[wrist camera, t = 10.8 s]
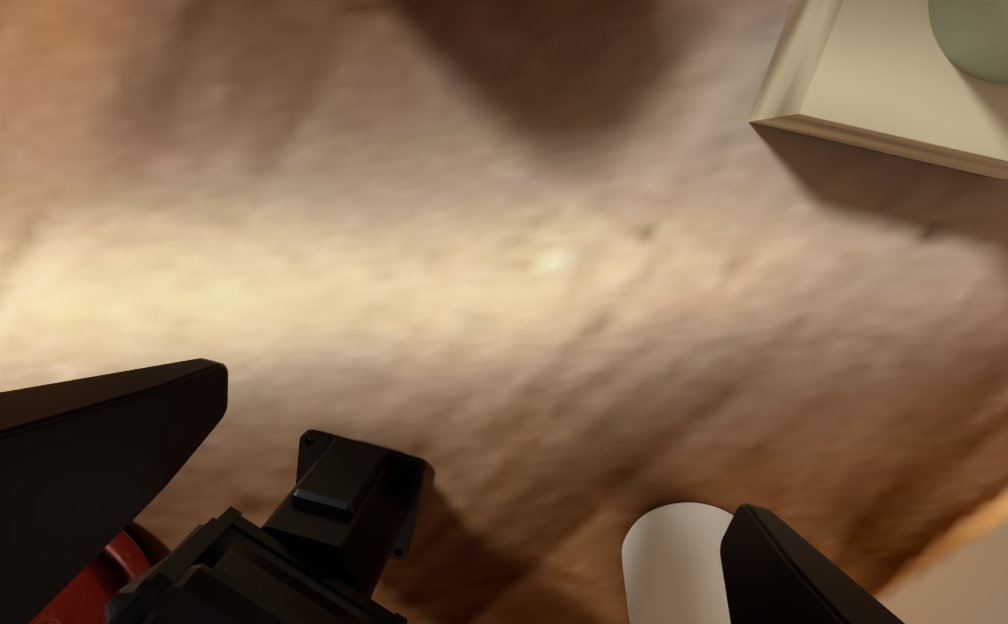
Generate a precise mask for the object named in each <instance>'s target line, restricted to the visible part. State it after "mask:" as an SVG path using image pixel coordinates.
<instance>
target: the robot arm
mask: <svg viewBox="0 0 1008 624" xmlns="http://www.w3.org/2000/svg"><path fill="white" fill-rule="evenodd" d="M227 403H228V370H227V367H226V366H225V365H224V364H223V363H219V362H215V361H212V360H208V359H204V358H199V359H193V360H187V361H181V362H175V363H169V364H164V365H158V366H152V367H146V368H140V369H134V370H129V371H123V372H117V373H111V374H105V375H100V376H94V377H88V378H82V379H76V380H70V381H65V382H59V383H53V384H47V385H41V386H35V387H30V388H24V389H18V390H12V391H6V392H0V624H29V623H30V622H31V621H32V620H33V619H34V618H35V617H36V616H37V615H38V614H39V613H40V612H41V611H42V610H43V609H44V608H45V607H46V606H47V605H48V604H49V603H50V602H51V601H52V600H53V599H54V598H55V597H56V596H57V595H58V594H59V593H60V592H61V591H62V590H63V589H64V588H65V587H66V586H67V585H68V584H69V583H70V582H71V581H72V580H73V579H74V578H75V577H76V576H77V575H78V574H79V573H80V572H81V571H82V570H83V569H84V568H85V567H86V566H87V565H88V564H89V563H90V562H91V561H92V560H93V559H94V558H95V557H96V556H97V555H98V554H99V553H100V552H101V551H102V550H103V549H104V548H105V547H106V546H107V545H108V544H109V543H110V542H111V541H112V540H113V539H114V538H115V537H116V536H117V535H118V534H119V533H120V532H121V531H122V530H123V529H124V528H125V527H126V526H127V525H128V524H129V523H130V522H131V521H132V520H133V519H134V518H135V517H136V516H137V515H138V514H139V513H140V512H141V511H142V510H143V509H144V508H145V507H146V506H147V505H148V504H149V503H150V502H151V501H152V500H153V499H154V498H155V497H156V496H157V495H158V494H159V493H160V492H161V491H162V489H163V488H164V487H165V486H166V485H167V484H168V483H169V482H170V480H171V479H172V478H173V477H174V476H175V475H176V473H177V472H178V471H179V470H180V469H181V467H182V466H183V465H184V464H185V463H186V461H187V460H188V459H189V458H190V456H191V455H192V454H193V453H194V452H195V450H196V449H197V448H198V447H199V446H200V444H201V443H202V442H203V441H204V440H205V438H206V437H207V436H208V435H209V434H210V432H211V431H212V430H213V429H214V428H215V426H216V425H217V424H218V423H219V422H220V420H221V419H222V418H223V416H224V414H225V412H226V409H227ZM309 438H310V439H312V440H313V441H314V442H312V441H310V440H309ZM412 467H415V468H417V469H418V470H414V469H412ZM424 471H425V464H424V462H423V461H422V460H421V459H418V458H415V457H412V456H408V455H404V454H401V453H397V452H393V451H390V450H386V449H382V448H379V447H375V446H371V445H368V444H364V443H360V442H357V441H353V440H349V439H346V438H342V437H338V436H335V435H331V434H327V433H324V432H320V431H316V430H307V431H306V432H305V433H304V434H303V435H302V436H301V438H300V443H299V455H298V467H297V479H296V486H295V487H294V488H293V489H292V491H291V492H290V493H289V494H288V495H287V497H286V498H285V499H284V500H283V502H282V503H281V504H280V505H279V506H278V508H277V509H276V510H275V511H274V513H273V514H272V515H271V516H270V517H269V519H268V520H267V521H266V522H265V524H264V525H263V526H262V527H261V528H259V527H258V526H256V525H255V524H253V523H252V522H250V521H249V520H247V519H245V518H244V517H242V516H241V515H242V513H241V512H239V511H238V510H236V509H235V508H233V507H232V506H231V507H230V508H228V509H227V510H226V511H225V512H224V513H223V514H222V515H221V516H220V517H219V518H217V519H215V518H212V519H211V520H210V521H209V522H208V523H206V524H205V525H198V526H197V527H196V528H195V529H194V530H193V531H192V532H191V533H190V534H189V535H188V536H187V537H186V538H185V539H184V540H183V541H182V542H181V543H180V544H179V545H178V546H177V547H176V548H175V549H174V550H173V551H172V552H171V553H170V554H169V555H168V556H166V557H165V558H164V559H163V560H161V561H160V562H159V563H157V564H156V565H154V566H153V567H151V568H150V569H149V570H147V571H146V572H144V573H143V574H141V575H140V576H139V577H137V578H136V579H134V580H133V581H131V582H130V583H128V584H127V585H126V586H124V587H123V588H121V589H120V590H119V591H118V592H117V593H116V594H115V595H114V596H113V597H112V598H111V599H110V601H109V602H108V603H107V604H106V606H105V610H104V624H407V619H406V618H404V617H403V616H401V615H400V614H398V613H395V614H393V613H392V612H390V611H389V610H387V609H386V608H384V607H383V606H381V605H379V604H378V603H376V602H375V601H373V600H372V599H371V596H372V594H373V592H374V590H375V587H376V585H377V583H378V581H379V578H380V576H381V574H382V572H383V569H384V567H385V565H386V562H387V560H388V558H389V557H390V558H394V559H398V560H401V559H404V558H405V557H406V556H407V553H408V551H409V547H410V542H411V537H412V532H413V527H414V522H415V517H416V512H417V507H418V502H419V497H420V492H421V487H422V482H423V476H424ZM398 549H400V550H398ZM720 558H721V564H722V571H723V577H724V584H725V590H726V597H727V603H728V609H729V616H730V622H731V624H905V623H903V622H902V621H901V620H900V619H899V618H897V617H896V616H895V615H894V614H893V613H892V612H890V611H889V610H888V609H887V608H886V607H884V606H883V605H882V604H881V603H880V602H879V601H877V600H876V599H875V598H874V597H873V596H871V595H870V594H869V593H868V592H867V591H865V590H864V589H863V588H862V587H861V586H860V585H858V584H857V583H856V582H855V581H854V580H852V579H851V578H850V577H849V576H848V575H846V574H845V573H844V572H843V571H842V570H841V569H839V568H838V567H837V566H836V565H835V564H833V563H832V562H831V561H830V560H829V559H827V558H826V557H825V556H824V555H823V554H822V553H820V552H819V551H818V550H817V549H816V548H814V547H813V546H812V545H811V544H810V543H808V542H807V541H806V540H805V539H804V538H803V537H801V536H800V535H799V534H798V533H797V532H795V531H794V530H793V529H792V528H791V527H789V526H788V525H787V524H786V523H785V522H784V521H782V520H781V519H780V518H779V517H778V516H776V515H775V514H774V513H773V512H772V511H770V510H768V509H766V508H763V507H759V506H755V505H751V504H747V503H744V504H741V505H740V506H739V507H738V508H737V510H736V512H735V514H734V516H733V518H732V520H731V522H730V524H729V526H728V528H727V530H726V532H725V534H724V536H723V538H722V541H721V545H720Z"/></svg>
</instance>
